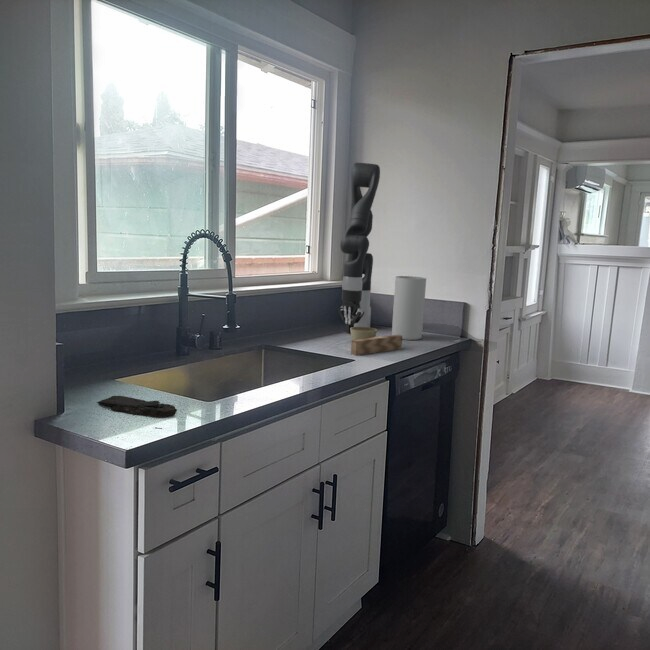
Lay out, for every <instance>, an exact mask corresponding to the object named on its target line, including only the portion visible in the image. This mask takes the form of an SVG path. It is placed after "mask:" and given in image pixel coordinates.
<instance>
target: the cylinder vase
mask: <svg viewBox="0 0 650 650" xmlns="http://www.w3.org/2000/svg"><path fill="white" fill-rule="evenodd" d="M394 280H395V281H394V294H393V295H394V296H393V310H392V311H393V312H392V324H391V335H401V336H402V341H403V340H404V341H417V340H421V339H422V337H423V327H424V314H425V300H426V284H427V278H426V277H421V276H412V275H407V276H406V275H397V276H395V279H394Z"/></svg>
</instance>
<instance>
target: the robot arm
mask: <svg viewBox="0 0 650 650" xmlns="http://www.w3.org/2000/svg"><path fill="white" fill-rule="evenodd" d="M380 178H381V168H380V166H379V164H376V163H368V162H354V163H353V164H352V167H351V172H350V180H351V181H350V185H351V186H350V188H351V203H350V204H351V206H350V207H351V208H350V217H349V222H348V226H347V228H346V230H345V232H344V233H343V236H342V238H341V240H340V243H339V245H340V246H339V247H340V250H341V252H343V254H347V255H348V257H347V260H346V261H345V262H344V266H343V277H342V283H341V285H342V289H341V301H342V304H341V306H340V307H338V308H337V311H338V314H339V316H340V317H341V321H342V322H344V323H345V333H346V334H348V335H351V331H350V328H352V327H369V328H371V319H372V317H371V316H372V307H371V290H372V288H371V287H372V273H373V266H374V256H373V254H372V253H369V252H368V250H369V247H370V241H369V238H368V237H369V235H370V233H371V232H372V229H373V218H374V215H373V212H372V210H371V209H372V206H373V204H374V200H375V196H376V194H377V192H378V191H377V189H378V187H379V182H380ZM361 188H366V189H367V191H366V192H365V193H364V195H363V194H362V190H361Z"/></svg>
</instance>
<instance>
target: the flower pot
mask: <svg viewBox="0 0 650 650" xmlns="http://www.w3.org/2000/svg"><path fill="white" fill-rule="evenodd" d="M350 331H351V334H350V337H351V341H352V340H358V339H366V338H373V337H377V333H378V330H377V328H374V327H370V328H369V327H352V328H350Z"/></svg>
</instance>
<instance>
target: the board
mask: <svg viewBox="0 0 650 650" xmlns="http://www.w3.org/2000/svg"><path fill="white" fill-rule="evenodd" d="M402 345H403V339H402V336H401V335H392V334H391V335H384V336H375V337H373V338H366V339H358V340H352V339H351V347H350V348H351V349H350V354H351V355H352V354H353V356H360V355H361V354H362V355H368V353H369V354H374V353H382V352H389V351H395V350H396V349H397V350H401V349H403V346H402Z"/></svg>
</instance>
